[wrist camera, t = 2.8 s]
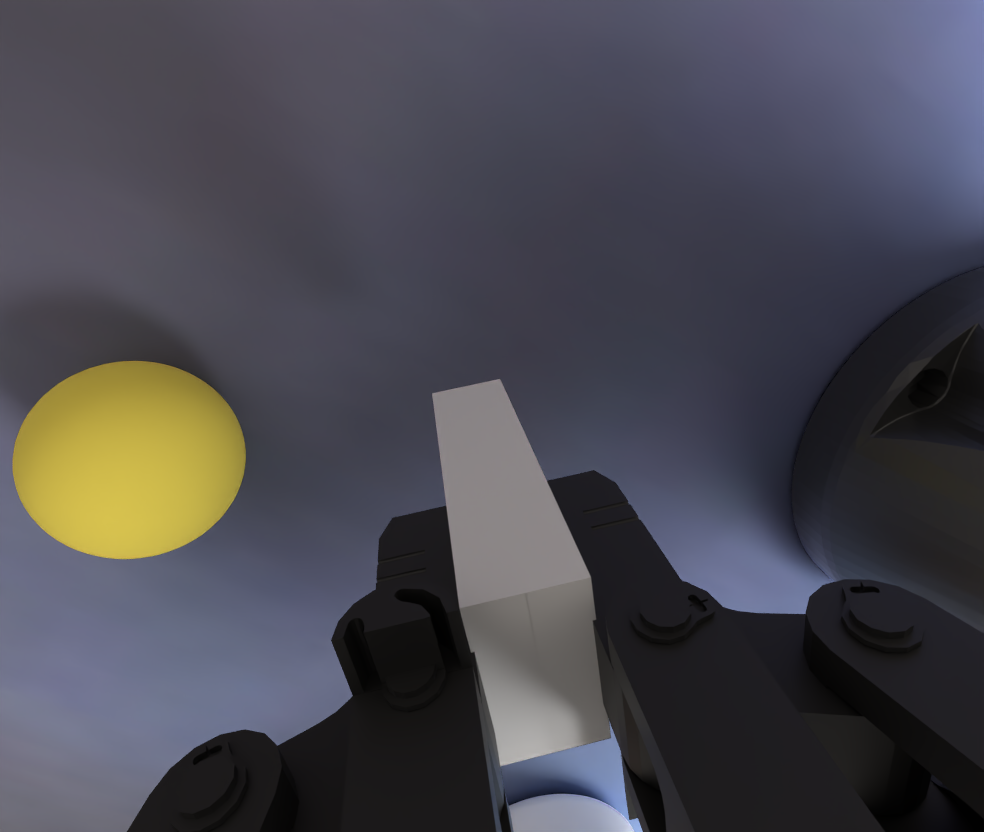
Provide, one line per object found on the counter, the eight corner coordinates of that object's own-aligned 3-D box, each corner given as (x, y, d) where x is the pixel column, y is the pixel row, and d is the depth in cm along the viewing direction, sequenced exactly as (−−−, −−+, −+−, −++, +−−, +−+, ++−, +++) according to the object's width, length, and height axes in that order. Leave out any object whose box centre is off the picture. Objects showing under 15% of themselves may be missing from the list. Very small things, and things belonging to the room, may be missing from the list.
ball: (230, 321, 18) (159, 381, 13) (286, 473, 20) (245, 575, 15) (49, 358, 17) (-98, 434, 12) (127, 508, 20) (30, 624, 15)
